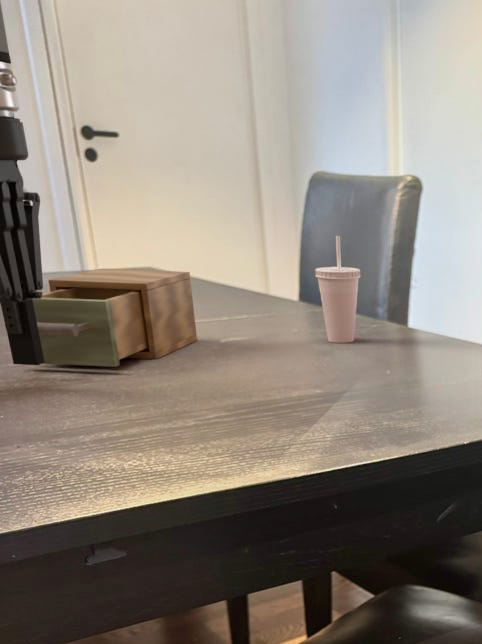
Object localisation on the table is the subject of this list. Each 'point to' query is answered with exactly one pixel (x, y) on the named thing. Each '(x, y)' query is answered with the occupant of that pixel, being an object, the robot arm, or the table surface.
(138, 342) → the drawer
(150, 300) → the cabinet
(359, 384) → the table surface
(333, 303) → the smoothie
